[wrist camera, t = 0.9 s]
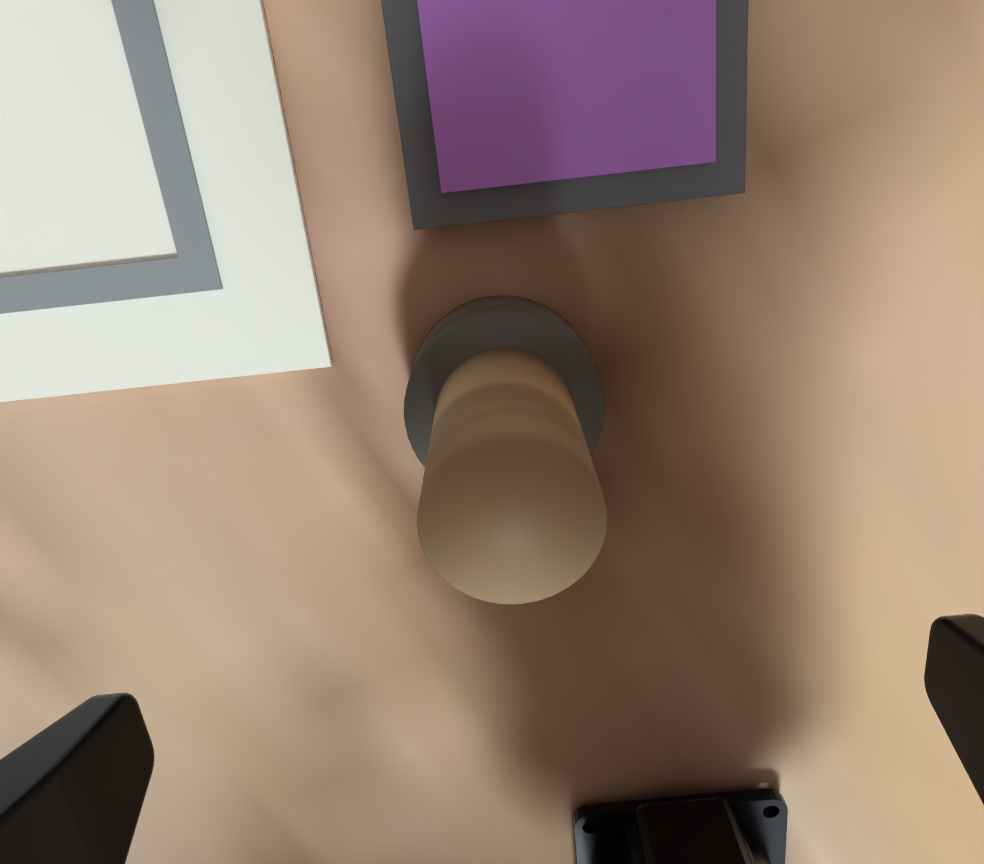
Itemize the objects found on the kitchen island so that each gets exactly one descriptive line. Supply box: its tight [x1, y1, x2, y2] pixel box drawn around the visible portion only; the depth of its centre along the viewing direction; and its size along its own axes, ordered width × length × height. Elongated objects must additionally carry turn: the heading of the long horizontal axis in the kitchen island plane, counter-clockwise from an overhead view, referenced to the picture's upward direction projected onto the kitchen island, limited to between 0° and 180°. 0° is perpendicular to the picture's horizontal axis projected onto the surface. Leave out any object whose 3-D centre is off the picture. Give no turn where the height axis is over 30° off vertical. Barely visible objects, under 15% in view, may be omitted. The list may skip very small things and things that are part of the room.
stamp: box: [404, 296, 607, 604], centre depth 15 cm, size 4×4×7 cm
